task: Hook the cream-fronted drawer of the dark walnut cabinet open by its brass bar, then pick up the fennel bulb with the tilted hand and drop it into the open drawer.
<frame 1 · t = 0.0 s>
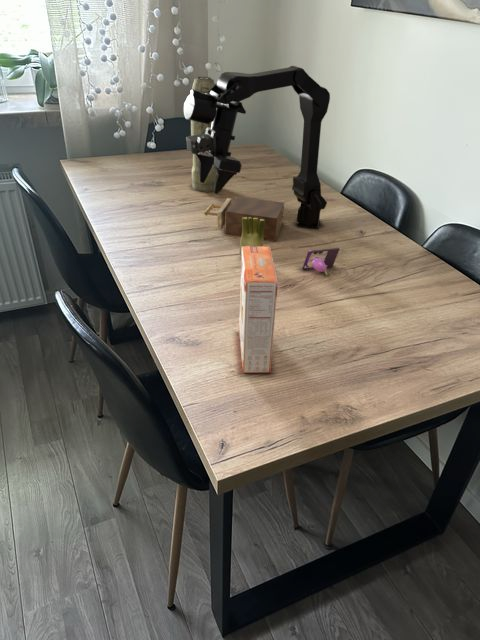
hand: (208, 187, 137), 15 cm above the table, tool pointing down, fingers open, 9 cm apart
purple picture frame: (320, 272, 135), on the table
fennel bulb: (250, 260, 138), on the table
drawer: (237, 215, 153), point 4 cm above the table, slide at 1.5 cm
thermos: (204, 188, 181), on the table
cracker box: (253, 353, 105), on the table
cabinet: (254, 229, 155), on the table
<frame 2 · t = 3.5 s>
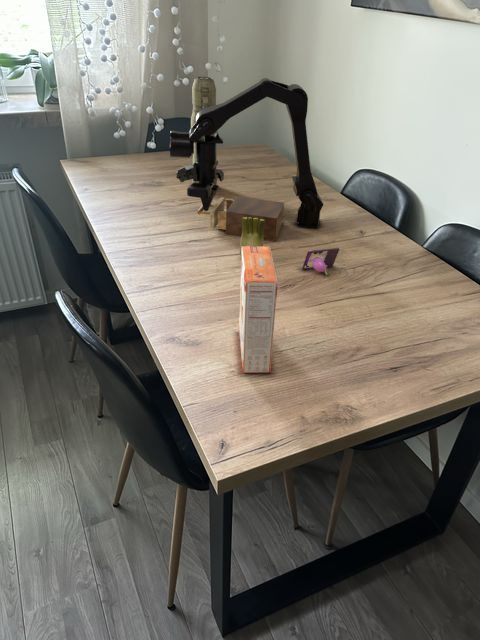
hand: (206, 210, 154), 4 cm above the table, tool pointing down, fingers closed, pressing on drawer
drawer: (230, 214, 154), point 4 cm above the table, slide at 3.7 cm, touching gripper
everything else where it was.
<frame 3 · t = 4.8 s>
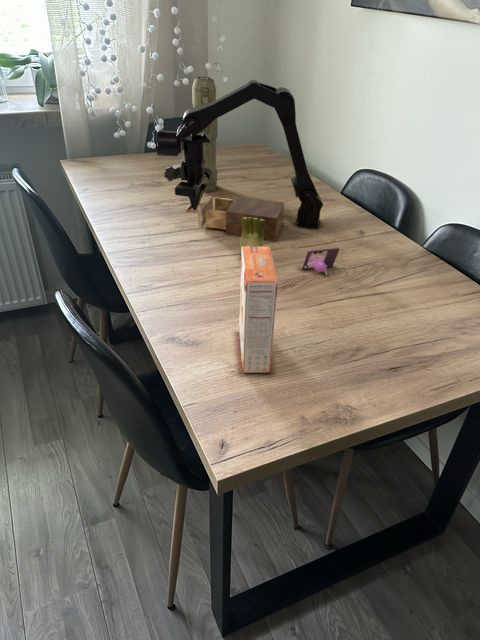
hand: (194, 209, 155), 4 cm above the table, tool pointing down, fingers closed, pressing on drawer
drawer: (218, 213, 154), point 4 cm above the table, slide at 7.4 cm, touching gripper
everything else where it was.
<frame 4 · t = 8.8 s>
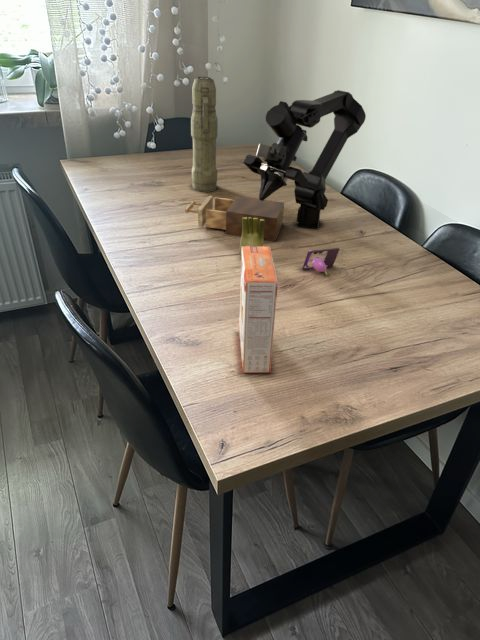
hand: (260, 199, 136), 14 cm above the table, tool tilted 40°, fingers closed
drawer: (218, 213, 154), point 4 cm above the table, slide at 7.4 cm
everything else where it was.
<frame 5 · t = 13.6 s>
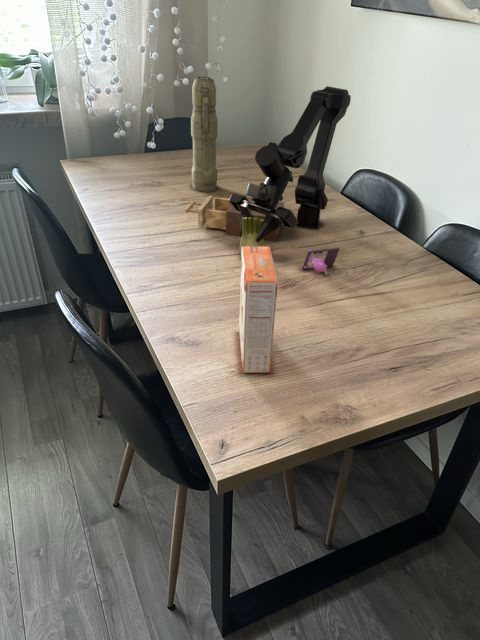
hand: (248, 238, 133), 7 cm above the table, tool tilted 45°, fingers closed on fennel bulb, 5 cm apart
fennel bulb: (250, 260, 138), on the table, touching gripper
everything else where it was.
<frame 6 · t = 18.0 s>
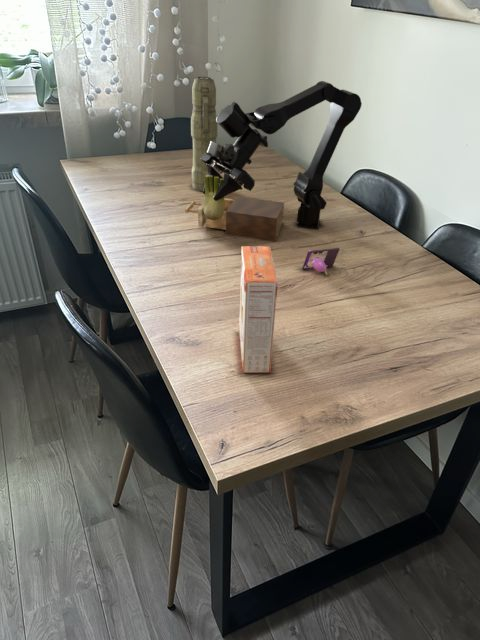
hand: (209, 196, 138), 13 cm above the table, tool tilted 45°, fingers closed on fennel bulb, 5 cm apart
fennel bulb: (213, 219, 142), point 6 cm above the table, touching gripper
everything else where it was.
when the fingers open (9 cm above the table, at t = 22.8 s): fennel bulb drops 1 cm, resting on drawer.
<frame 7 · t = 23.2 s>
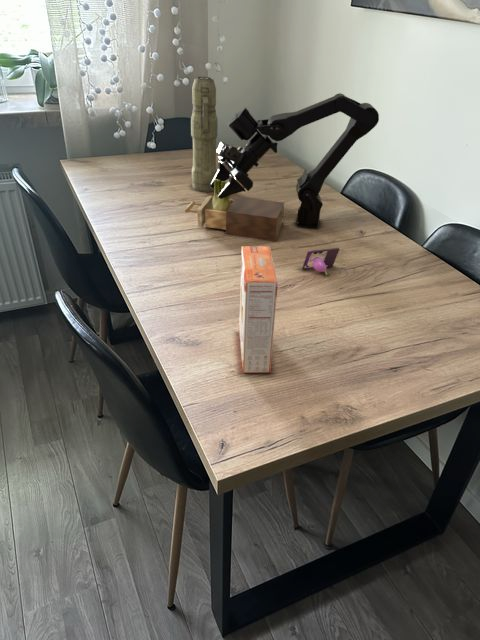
hand: (215, 192, 149), 10 cm above the table, tool tilted 45°, fingers open, 9 cm apart
fennel bulb: (220, 220, 155), point 2 cm above the table, touching drawer
drawer: (218, 212, 154), point 3 cm above the table, slide at 7.6 cm, touching fennel bulb
everything else where it was.
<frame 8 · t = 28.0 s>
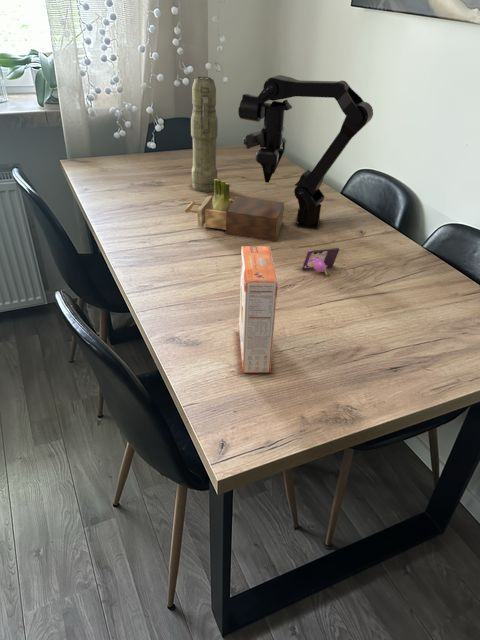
hand: (269, 177, 157), 12 cm above the table, tool pointing down, fingers open, 9 cm apart
nothing on the table moved.
at the end: drawer slide at 7.6 cm; fennel bulb inside the target area in the cabinet (5.7 cm from its centre), point 1.5 cm above the cabinet's base; the gripper is holding nothing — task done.
